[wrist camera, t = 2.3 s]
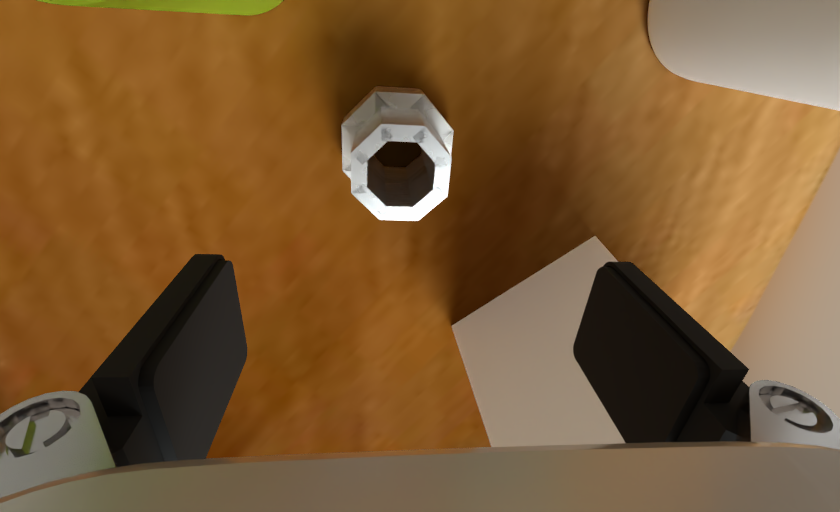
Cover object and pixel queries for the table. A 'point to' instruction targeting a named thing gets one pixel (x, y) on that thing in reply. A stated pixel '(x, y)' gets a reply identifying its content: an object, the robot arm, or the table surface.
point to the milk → (537, 358)
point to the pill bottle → (753, 45)
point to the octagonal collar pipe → (405, 122)
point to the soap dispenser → (181, 5)
